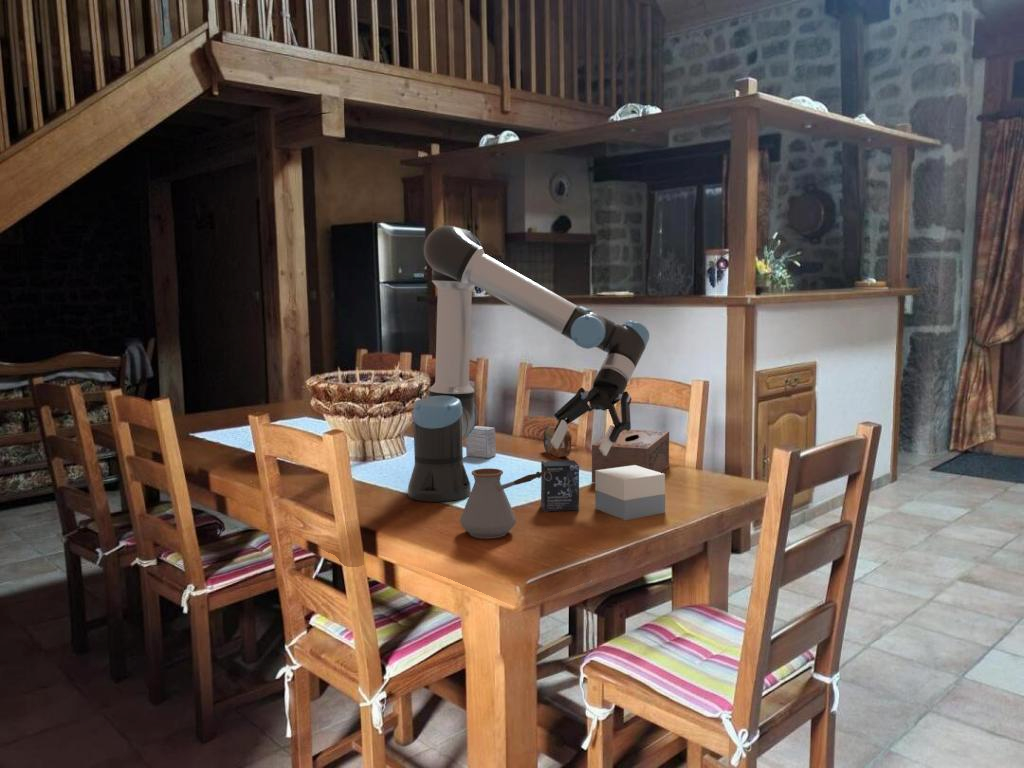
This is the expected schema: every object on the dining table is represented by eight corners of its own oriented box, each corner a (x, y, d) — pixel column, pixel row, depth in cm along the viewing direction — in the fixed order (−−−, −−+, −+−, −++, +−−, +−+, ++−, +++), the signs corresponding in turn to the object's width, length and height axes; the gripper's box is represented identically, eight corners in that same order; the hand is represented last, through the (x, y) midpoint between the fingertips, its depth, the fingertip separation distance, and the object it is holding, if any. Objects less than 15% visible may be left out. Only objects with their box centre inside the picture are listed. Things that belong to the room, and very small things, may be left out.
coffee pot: (448, 535, 170) (446, 462, 168) (484, 522, 179) (483, 453, 177) (532, 554, 157) (531, 476, 155) (567, 539, 166) (566, 465, 164)
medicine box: (496, 456, 249) (495, 427, 248) (487, 458, 245) (487, 429, 244) (474, 453, 253) (473, 425, 252) (465, 456, 249) (465, 427, 248)
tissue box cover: (647, 488, 209) (647, 448, 207) (591, 483, 214) (591, 445, 213) (668, 467, 232) (669, 431, 231) (618, 463, 238) (618, 428, 237)
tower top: (624, 500, 179) (624, 480, 179) (595, 489, 189) (595, 470, 188) (664, 494, 184) (665, 474, 184) (634, 484, 194) (634, 465, 194)
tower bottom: (624, 521, 179) (625, 500, 179) (595, 509, 189) (595, 490, 188) (665, 514, 185) (665, 494, 184) (634, 503, 194) (634, 484, 194)
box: (545, 512, 186) (544, 465, 185) (540, 506, 192) (540, 460, 191) (579, 510, 187) (579, 464, 186) (574, 504, 193) (574, 459, 192)
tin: (542, 451, 256) (542, 423, 255) (551, 450, 257) (551, 423, 256) (563, 460, 242) (563, 431, 241) (573, 459, 243) (573, 430, 242)
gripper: (665, 390, 195) (630, 464, 186) (577, 383, 211) (542, 451, 202) (653, 369, 191) (617, 445, 181) (564, 364, 207) (527, 433, 197)
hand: (577, 448), depth 191 cm, fingers open, 13 cm apart
